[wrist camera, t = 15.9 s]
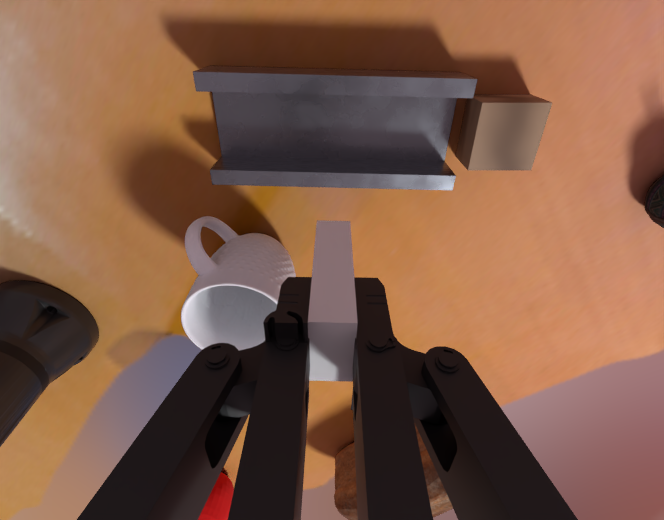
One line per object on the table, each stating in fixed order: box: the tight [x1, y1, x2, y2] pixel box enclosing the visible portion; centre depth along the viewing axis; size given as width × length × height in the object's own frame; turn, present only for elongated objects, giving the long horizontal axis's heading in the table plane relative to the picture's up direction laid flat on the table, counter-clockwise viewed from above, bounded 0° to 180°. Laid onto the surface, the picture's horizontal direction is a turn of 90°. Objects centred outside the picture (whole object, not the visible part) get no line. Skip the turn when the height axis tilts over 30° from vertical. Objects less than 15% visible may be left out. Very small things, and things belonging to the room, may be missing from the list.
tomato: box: [198, 472, 234, 520], centre depth 73 cm, size 13×14×12 cm
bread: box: [334, 425, 453, 520], centre depth 64 cm, size 12×31×14 cm, turn 132°
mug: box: [181, 216, 296, 350], centre depth 40 cm, size 15×11×13 cm
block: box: [456, 94, 552, 170], centre depth 35 cm, size 6×6×4 cm
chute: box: [193, 66, 477, 190], centre depth 35 cm, size 24×10×5 cm, turn 89°
